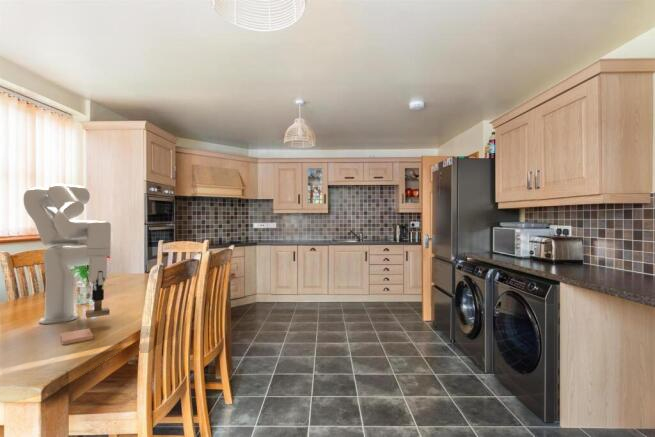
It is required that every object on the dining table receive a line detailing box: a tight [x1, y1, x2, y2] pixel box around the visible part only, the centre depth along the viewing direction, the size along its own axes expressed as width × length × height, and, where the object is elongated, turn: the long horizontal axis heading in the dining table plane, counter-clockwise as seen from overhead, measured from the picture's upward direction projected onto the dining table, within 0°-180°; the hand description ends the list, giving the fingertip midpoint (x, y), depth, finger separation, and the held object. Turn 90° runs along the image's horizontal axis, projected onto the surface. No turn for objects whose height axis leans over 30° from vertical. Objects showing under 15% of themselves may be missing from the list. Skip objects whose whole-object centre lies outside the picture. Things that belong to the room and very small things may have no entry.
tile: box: [60, 328, 94, 346], centre depth 109 cm, size 1×8×10 cm
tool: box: [85, 281, 111, 319], centre depth 122 cm, size 4×7×14 cm, turn 133°
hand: (97, 299), depth 122 cm, fingers closed on tool, 2 cm apart
